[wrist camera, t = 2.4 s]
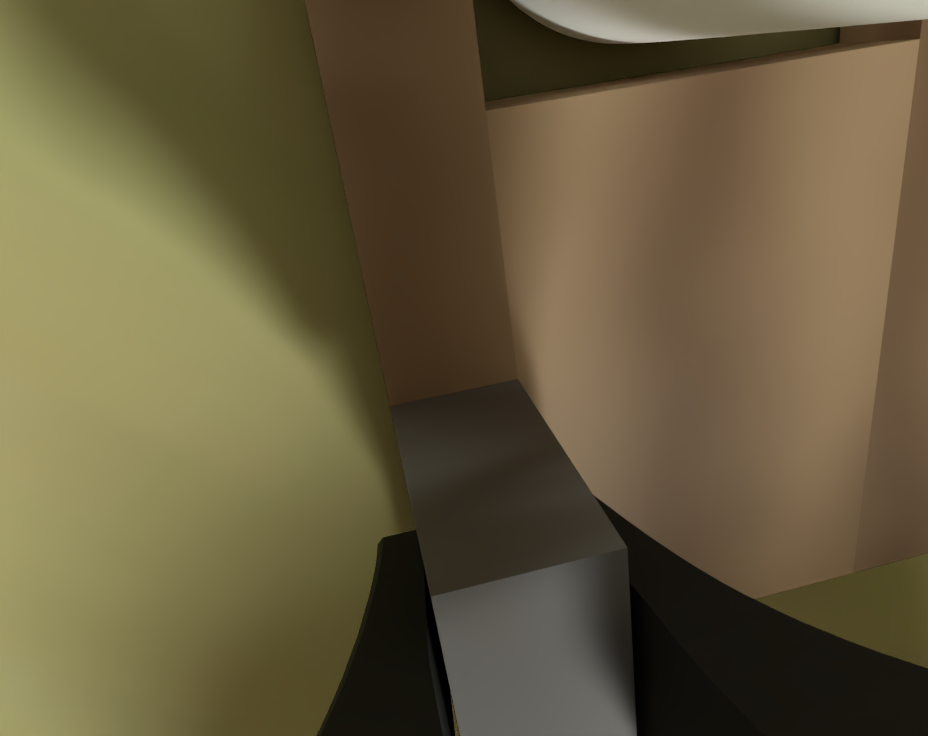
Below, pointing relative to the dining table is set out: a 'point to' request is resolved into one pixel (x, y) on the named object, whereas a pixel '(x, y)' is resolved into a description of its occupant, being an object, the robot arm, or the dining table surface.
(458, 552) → the tan channel tray
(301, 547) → the dining table surface
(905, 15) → the can
